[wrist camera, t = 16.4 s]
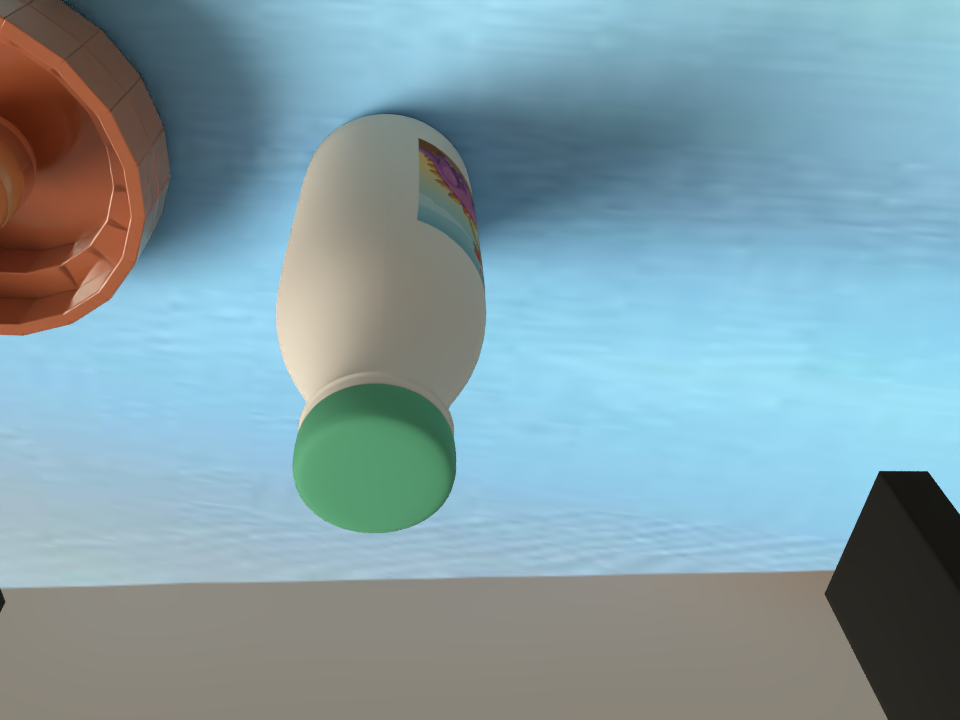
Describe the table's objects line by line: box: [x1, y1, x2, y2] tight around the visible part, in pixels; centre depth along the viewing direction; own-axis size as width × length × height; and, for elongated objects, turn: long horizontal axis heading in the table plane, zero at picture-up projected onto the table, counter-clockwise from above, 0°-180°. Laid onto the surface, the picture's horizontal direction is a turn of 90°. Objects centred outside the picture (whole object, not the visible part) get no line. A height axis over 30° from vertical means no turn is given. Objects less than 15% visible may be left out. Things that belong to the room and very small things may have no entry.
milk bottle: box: [276, 114, 486, 533], centre depth 32 cm, size 8×8×20 cm
